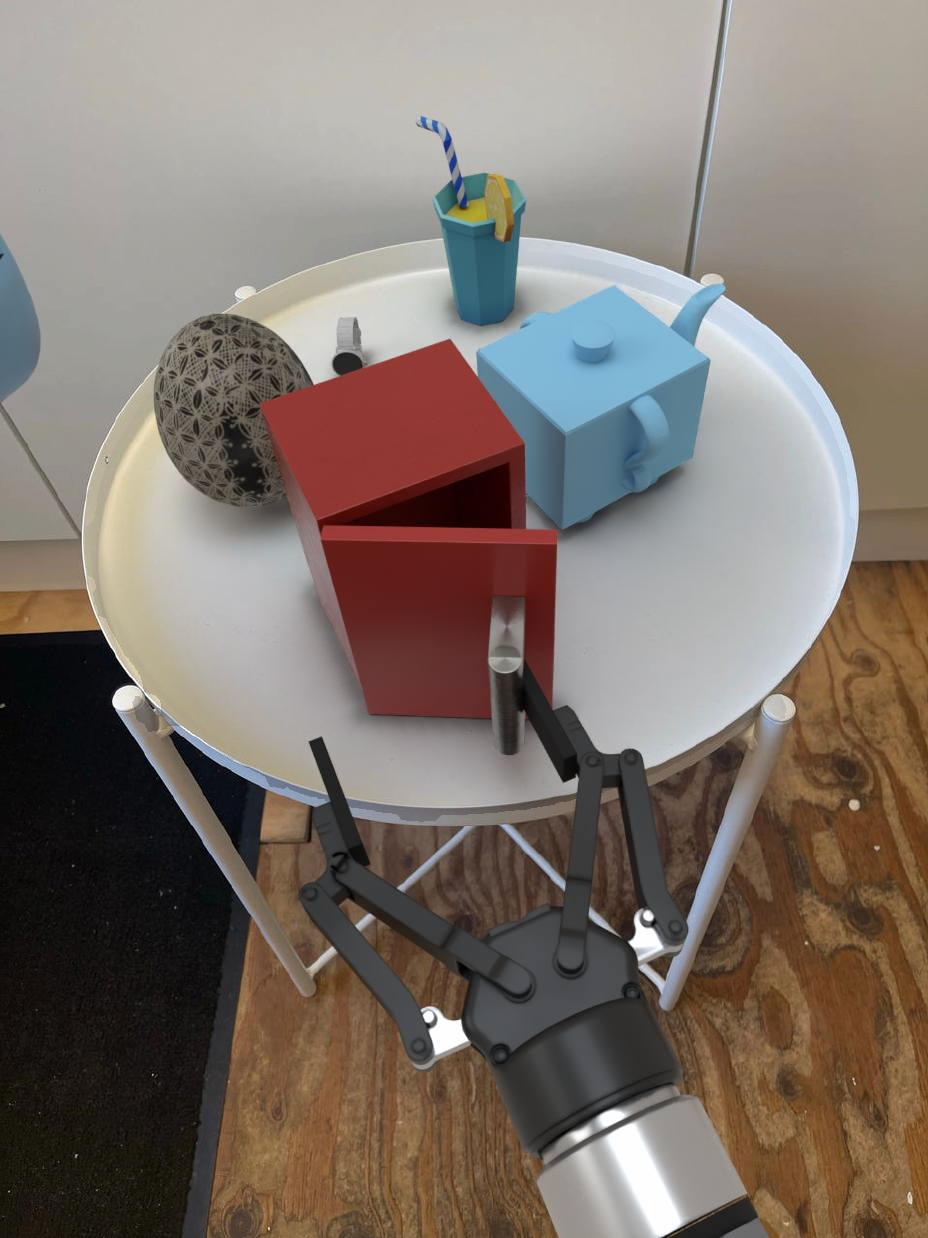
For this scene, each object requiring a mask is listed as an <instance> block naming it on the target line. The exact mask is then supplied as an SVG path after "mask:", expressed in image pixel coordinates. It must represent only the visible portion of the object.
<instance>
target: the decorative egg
mask: <svg viewBox="0 0 928 1238" xmlns="http://www.w3.org/2000/svg"><path fill="white" fill-rule="evenodd" d="M312 385H315V384H314V382H313V380H312V377H311V375H310V374H309V373H308V370H307V368H306V367H305V365H304V363H303V361H302V360H301V359H300V357H299V356H298V354H297V353H296V352H295V351H294V349H293V348H292V347H291V346H290V345H289V344H288V343H287V342H286V341H285V340H284V339H283V338H282V337H281V336H279V334H277V333H276V332H275V331H273V330H272V329H270V328H269V327H267V326H266V325H264V324H262V323H259V322H258V321H256V320H254V319H252V318H248V317H245V316H241V315H238V314H232V313H213V314H208V315H204V316H199V317H198V318H196V319H194V320H192V321H190V322H188V323H187V324H185V325H184V326H183V327H181V328H180V330H178V332H177V333H176V334H175V335H174V336H173V337H172V338H171V339H170V340H169V342H168V343H167V345H166V347H165V349H164V350H163V352H162V354H161V357H160V360H159V362H158V365H157V368H156V371H155V377H154V383H153V408H154V409H153V410H154V411H153V412H154V415H155V422H156V426H157V430H158V435H159V437H160V440H161V443H162V445H163V447H164V450H165V453H166V454H167V456H168V458H169V459H170V461H171V463H172V464H173V465H174V467H175V468H176V470H177V471H178V473H179V474H180V475H181V477H183V478H184V480H185V481H187V483H188V484H189V485H191V486H192V487H193V488H194V489H196V490H197V491H198V492H200V493H201V494H202V495H205V496H207V498H210V499H211V500H214V501H215V502H219V503H222V504H224V505H229V506H232V507H238V508H259V507H265V506H267V505H271V504H274V503H276V502H277V503H278V502H280V501H282V500H284V499H286V498H288V497H287V494H286V490H285V487H284V484H283V481H282V477H281V474H280V471H279V467H278V464H277V461H276V458H275V454H274V451H273V448H272V444H271V441H270V438H269V435H268V431H267V428H266V425H265V421H264V417H263V415H262V412H261V408H260V405H259V404H260V403H262V402H265V401H268V400H271V399H274V398H277V397H280V396H283V395H286V394H289V393H292V392H295V391H297V390H300V389H303V388H306V387H309V386H312Z"/></svg>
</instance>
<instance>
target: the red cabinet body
mask: <svg viewBox="0 0 928 1238" xmlns="http://www.w3.org/2000/svg"><path fill="white" fill-rule="evenodd" d="M259 405H260V408H261V412H262V415H263V417H264V421H265V425H266V428H267V431H268V435H269V438H270V441H271V444H272V448H273V451H274V454H275V458H276V461H277V464H278V467H279V471H280V474H281V477H282V481H283V484H284V487H285V490H286V494H287V497H286V498H287V500H288V503H289V508H290V510H291V513H292V516H293V520H294V523H295V526H296V530H297V534H298V537H299V540H300V542H301V543H300V544H301V546H302V550H303V552H304V556H305V559H306V562H307V566H308V568H309V573H310V577H311V579H312V582H313V585H314V589H315V592H316V595H317V598H318V600H319V601H320V603H321V605H322V607H323V610H324V612H325V614H326V616H327V618H328V620H329V623H330V625H331V627H332V629H333V631H334V633H335V636H336V638H337V640H338V643H339V644H340V647H341V649H342V652H343V654H344V655H345V657H346V659H347V662H348V664H349V666H350V669H351V670H352V672H353V675H354V677H355V680H356V681H357V683H358V686H359V688H360V691H361V693H363V691H362V687H361V683H360V680H359V676H358V673H357V669H356V665H355V662H354V658H353V655H352V651H351V647H350V644H349V640H348V637H347V633H346V630H345V626H344V622H343V619H342V615H341V612H340V608H339V604H338V601H337V597H336V594H335V590H334V586H333V583H332V579H331V576H330V572H329V568H328V565H327V561H326V558H325V554H324V550H323V547H322V543H321V535H322V530H323V526H324V525H331V526H387V527H442V528H497V529H527V496H526V495H527V493H526V478H525V442H524V441H523V440H522V438H521V437H520V435H519V434H518V433H517V431H516V430H515V428H514V427H513V426H512V424H511V423H510V421H509V420H508V419H507V417H506V416H505V414H504V413H503V412H502V410H501V409H500V407H499V406H498V405H497V403H496V402H495V400H494V399H493V398H492V396H491V395H490V393H489V392H488V391H487V389H486V388H485V386H484V385H483V384H482V382H481V381H480V379H479V378H478V374H476V373H475V371H474V369H473V367H471V365H470V364H469V362H468V361H467V360H466V358H465V357H464V356H463V353H461V352H460V350H459V348H458V347H457V346H456V344H455V342H453V340H452V339H451V338H447V339H444V340H441V341H439V342H438V341H437V342H436V343H433V344H429V345H426V346H423V347H421V348H417V349H415V350H412V351H409V352H406V353H403V354H401V355H397V356H394V357H392V358H388V359H386V360H383V361H379V362H377V363H373V364H371V365H367V366H364V368H362V369H359V370H356V371H353V372H350V373H347V374H344V375H341V376H339V375H338V376H336V377H333V378H330V379H326V380H324V381H321V382H318V383H315V384H314V385H312V386H309V387H306V388H303V389H300V390H297V391H295V392H292V393H289V394H286V395H283V396H280V397H277V398H274V399H271V400H268V401H265V402H262V403H260V404H259Z"/></svg>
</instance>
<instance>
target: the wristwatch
mask: <svg viewBox="0 0 928 1238" xmlns="http://www.w3.org/2000/svg"><path fill="white" fill-rule="evenodd" d="M361 337H362V331H361V329H360V326H359V320H358V317H357V316H347V317H339V318H338V319H337V323H336V347H335V354H334V355H333V356H332V358H331V362H330V363H331V367H332V371H334V373H336V375H338V377H339V376H341V375H344V374H347V373H350V372H353V371H356V370H359V369H362V368H365V365H367V360H364V358H363V350H362V349H363V347H362V346H363V345H362V338H361Z"/></svg>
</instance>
